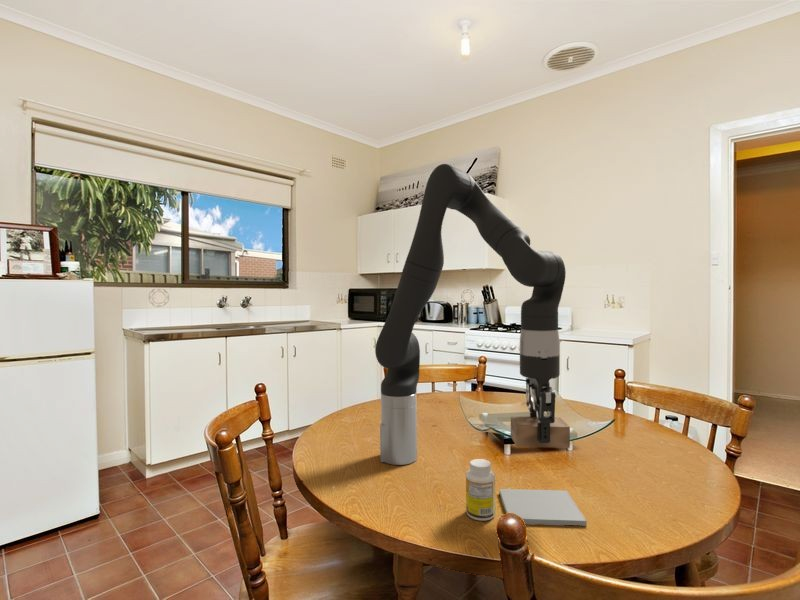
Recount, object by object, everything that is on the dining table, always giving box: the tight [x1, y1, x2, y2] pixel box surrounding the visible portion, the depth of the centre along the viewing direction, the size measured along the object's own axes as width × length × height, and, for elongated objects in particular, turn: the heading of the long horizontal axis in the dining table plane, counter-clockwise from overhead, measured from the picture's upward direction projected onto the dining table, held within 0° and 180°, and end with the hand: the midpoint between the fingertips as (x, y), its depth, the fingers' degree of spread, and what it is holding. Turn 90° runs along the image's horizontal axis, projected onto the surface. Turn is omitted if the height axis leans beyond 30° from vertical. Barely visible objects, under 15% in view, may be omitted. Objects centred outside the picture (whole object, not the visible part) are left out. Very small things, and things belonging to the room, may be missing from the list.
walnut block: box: [510, 416, 571, 449], centre depth 86 cm, size 10×6×4 cm, turn 86°
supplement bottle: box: [465, 458, 496, 522], centre depth 84 cm, size 6×6×10 cm
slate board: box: [499, 488, 588, 527], centre depth 86 cm, size 14×12×1 cm
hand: (539, 436), depth 86 cm, fingers closed on walnut block, 6 cm apart
